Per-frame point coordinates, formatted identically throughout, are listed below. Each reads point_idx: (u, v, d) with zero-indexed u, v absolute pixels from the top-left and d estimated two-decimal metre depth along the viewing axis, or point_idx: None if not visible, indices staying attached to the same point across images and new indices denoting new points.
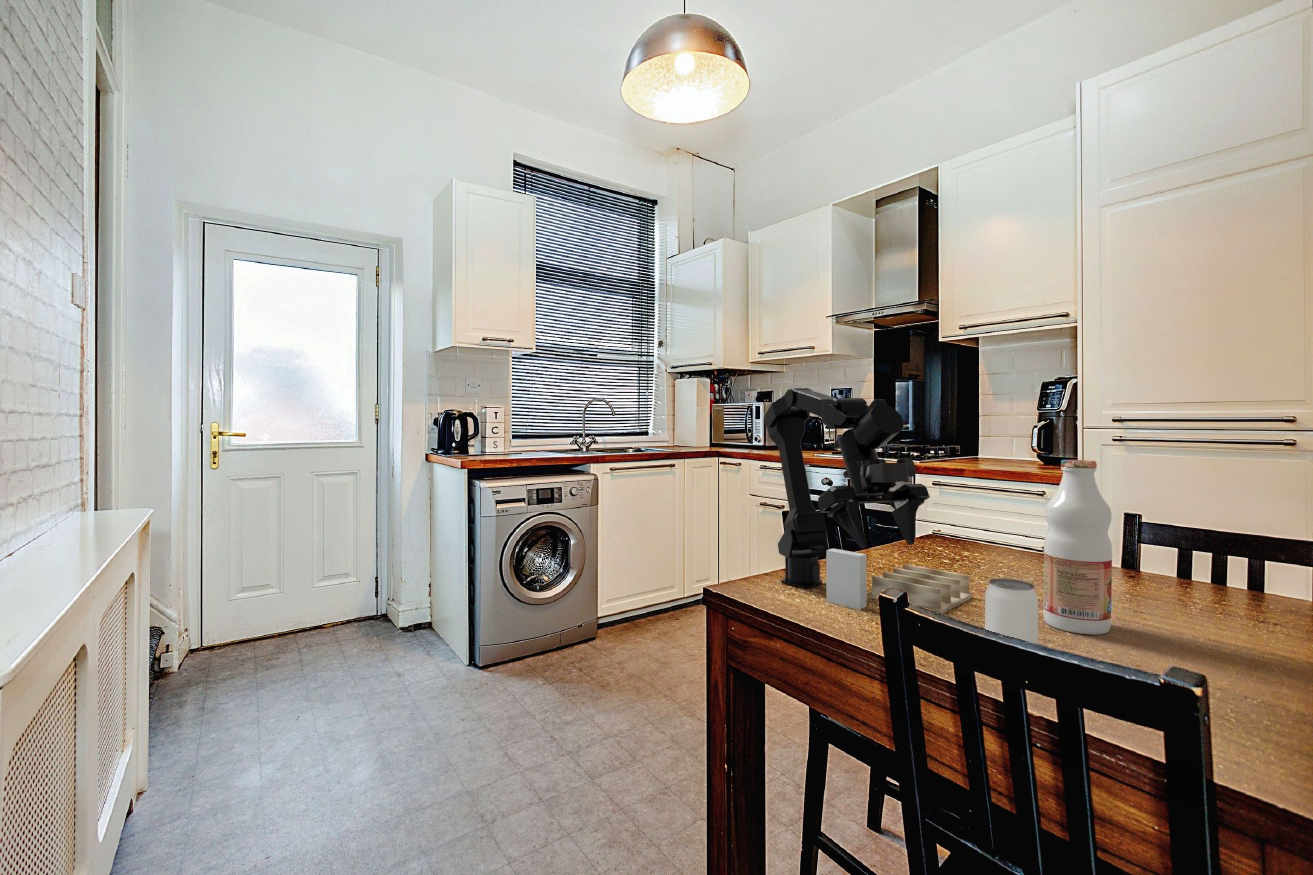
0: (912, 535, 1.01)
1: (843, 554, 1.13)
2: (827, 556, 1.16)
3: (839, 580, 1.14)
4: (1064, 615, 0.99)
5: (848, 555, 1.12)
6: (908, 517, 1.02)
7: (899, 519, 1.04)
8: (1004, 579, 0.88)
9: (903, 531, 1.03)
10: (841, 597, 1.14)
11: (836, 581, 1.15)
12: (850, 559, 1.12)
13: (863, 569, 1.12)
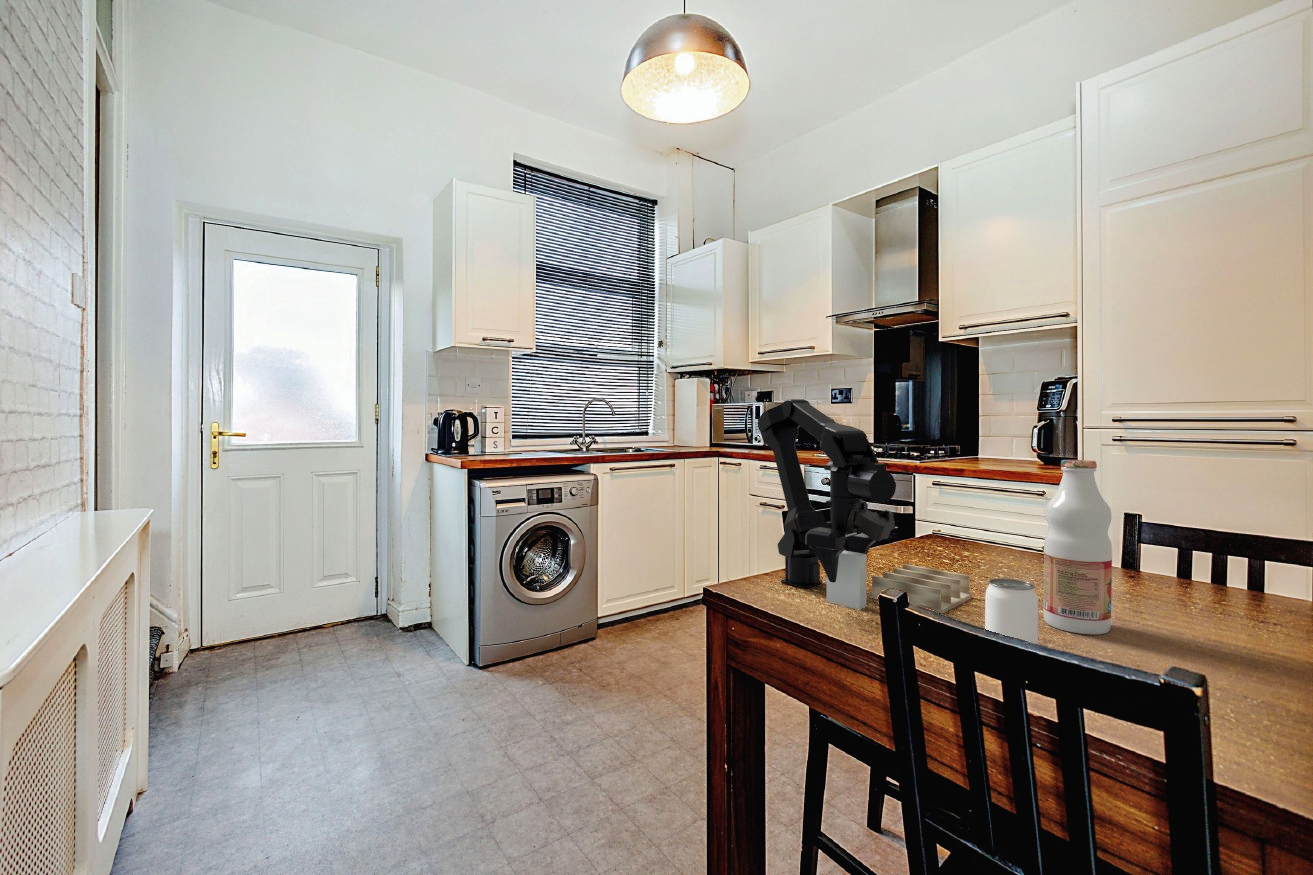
0: None
1: (843, 554, 1.13)
2: None
3: (839, 580, 1.14)
4: (1064, 615, 0.99)
5: (848, 555, 1.12)
6: (864, 551, 1.17)
7: (852, 546, 1.18)
8: (1004, 579, 0.88)
9: None
10: (841, 597, 1.14)
11: (836, 581, 1.15)
12: (850, 559, 1.12)
13: (863, 569, 1.12)
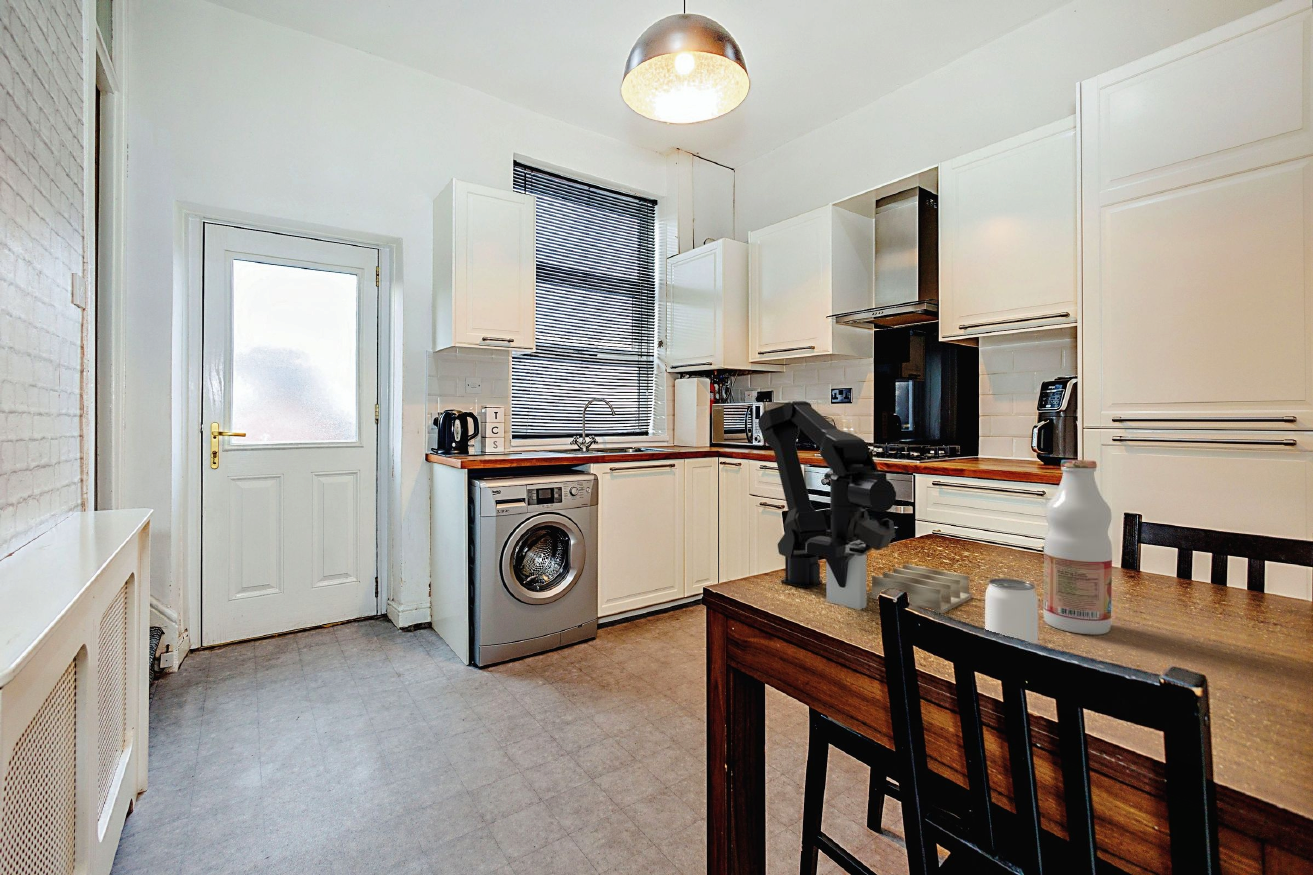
0: None
1: None
2: None
3: None
4: (1064, 615, 0.99)
5: None
6: None
7: None
8: (1004, 579, 0.88)
9: None
10: (841, 597, 1.14)
11: (836, 581, 1.15)
12: (850, 559, 1.12)
13: (863, 569, 1.12)
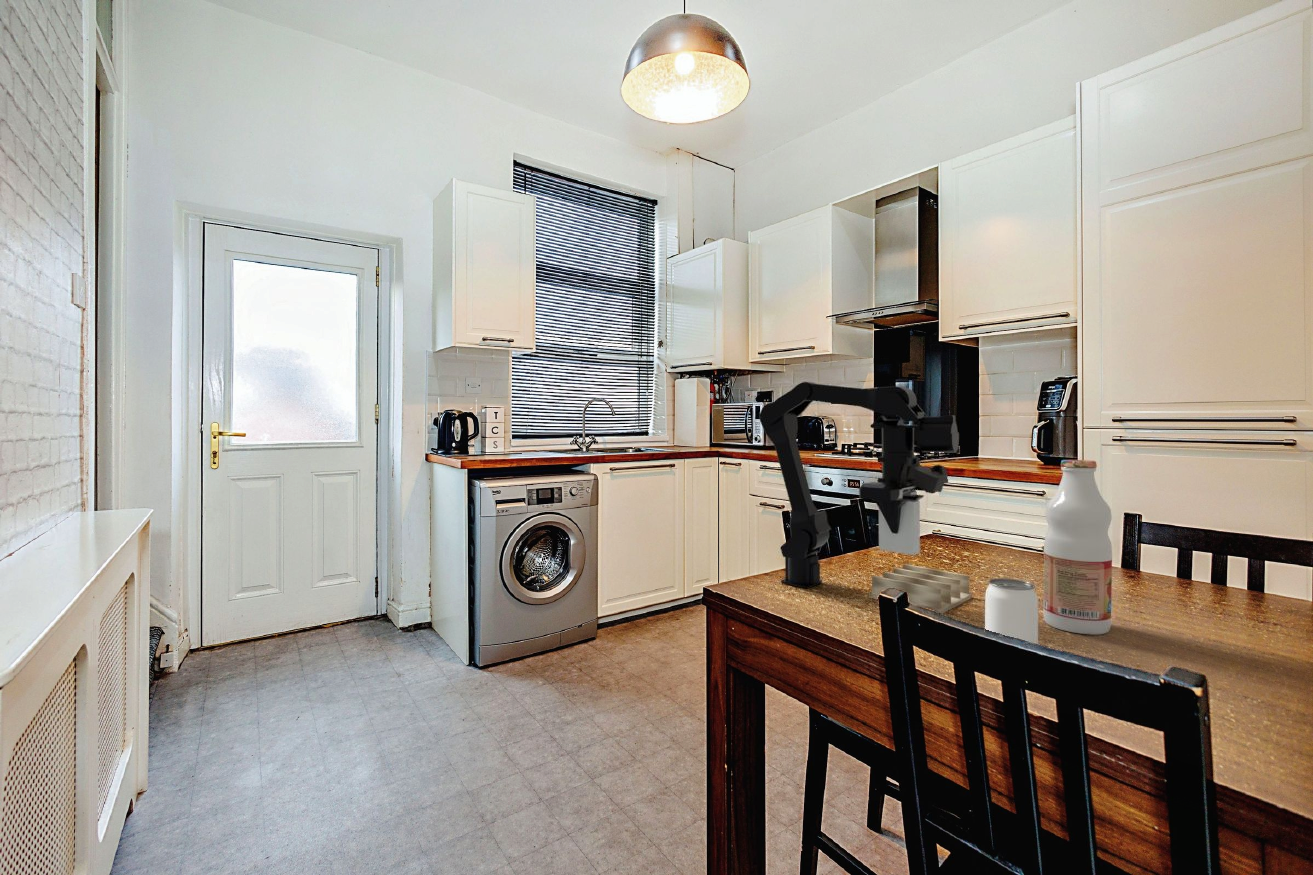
0: None
1: None
2: None
3: None
4: (1064, 615, 0.99)
5: None
6: None
7: None
8: (1004, 579, 0.88)
9: None
10: (894, 544, 1.16)
11: (889, 528, 1.16)
12: (903, 506, 1.14)
13: (916, 515, 1.13)
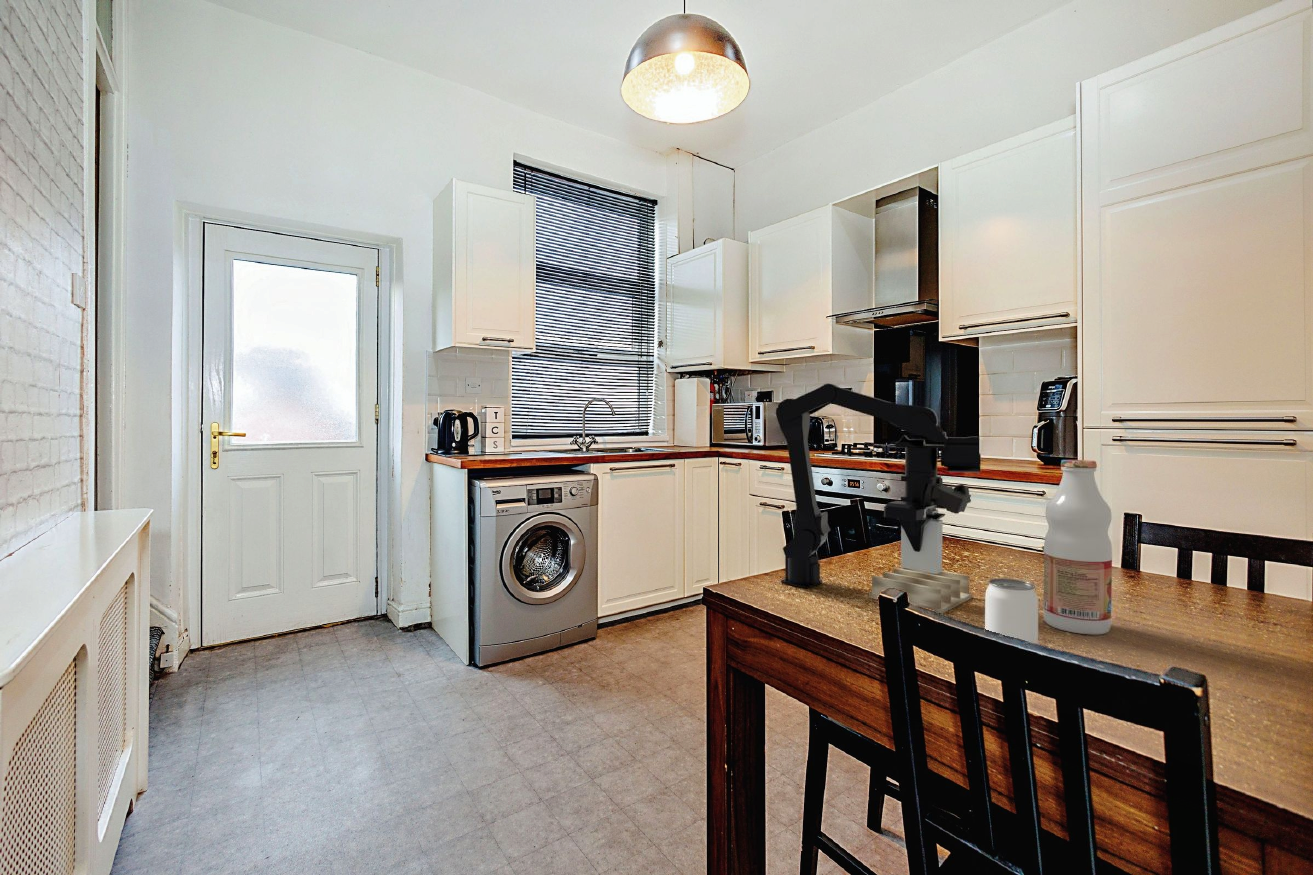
0: None
1: None
2: None
3: None
4: (1064, 615, 0.99)
5: None
6: None
7: None
8: (1004, 579, 0.88)
9: None
10: (916, 562, 1.17)
11: None
12: (927, 525, 1.15)
13: (939, 534, 1.15)
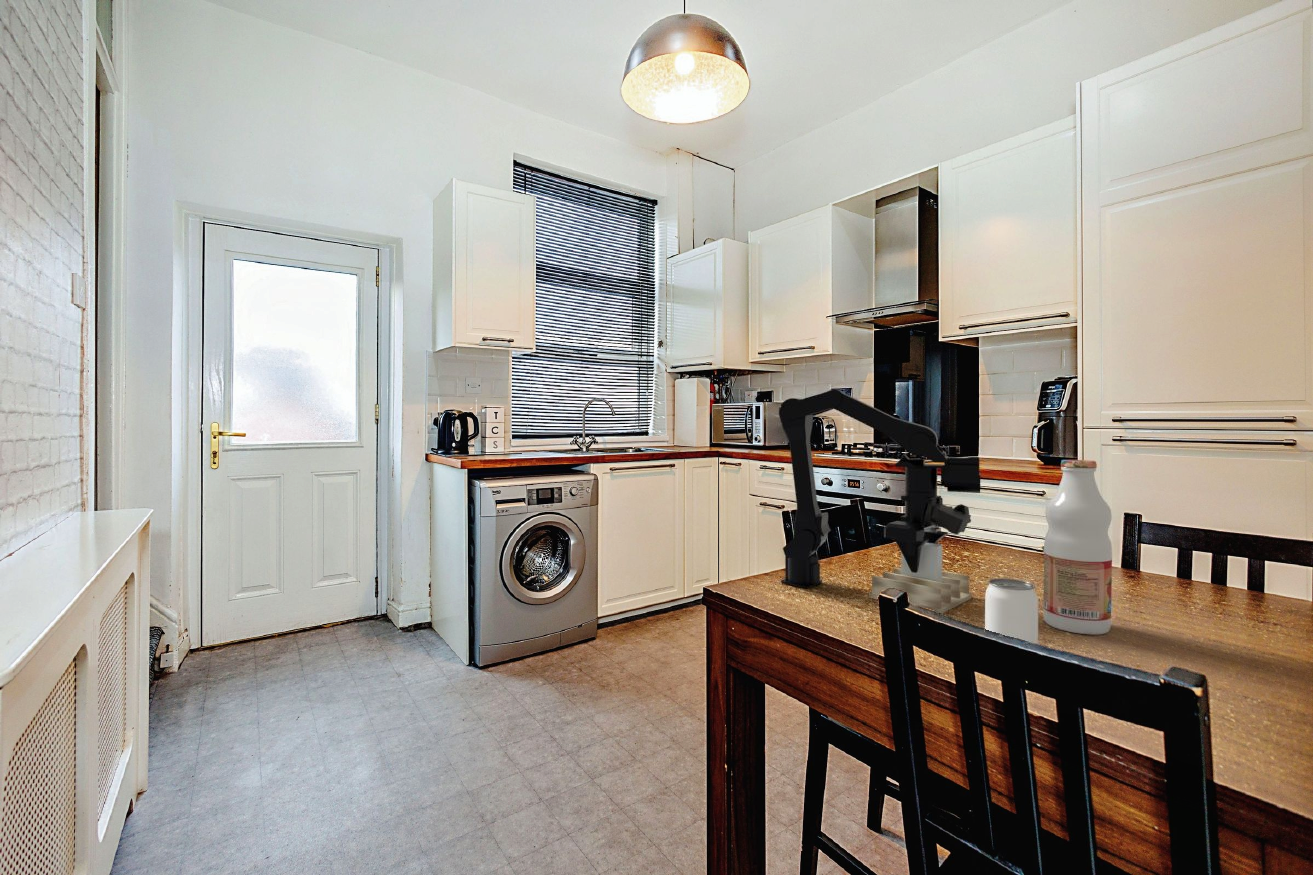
0: None
1: None
2: None
3: None
4: (1064, 615, 0.99)
5: (924, 546, 1.16)
6: None
7: None
8: (1004, 579, 0.88)
9: None
10: None
11: None
12: (927, 550, 1.16)
13: (939, 559, 1.15)
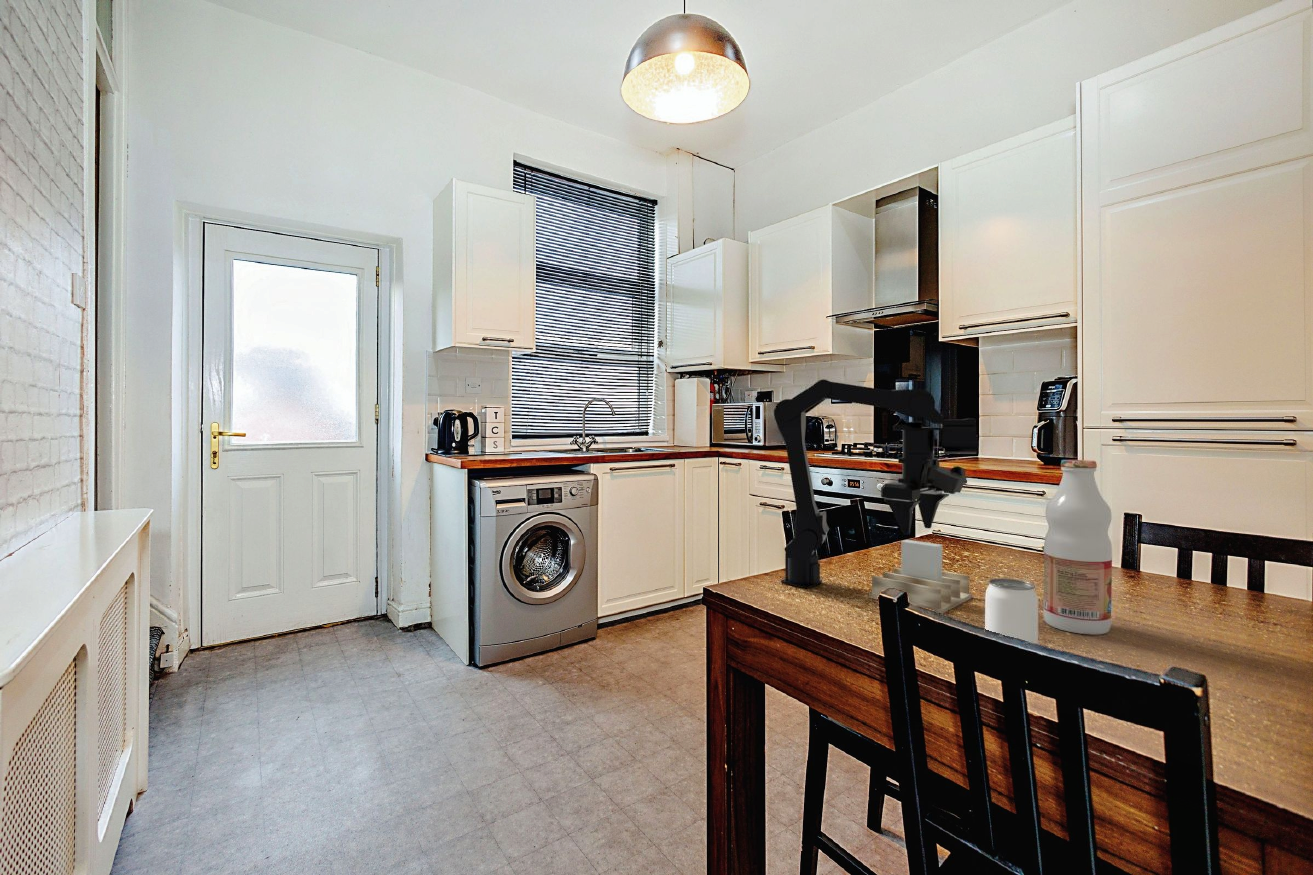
0: (931, 522, 1.22)
1: (919, 545, 1.17)
2: (902, 547, 1.19)
3: (915, 570, 1.17)
4: (1064, 615, 0.99)
5: (924, 546, 1.16)
6: (934, 507, 1.22)
7: (922, 503, 1.24)
8: (1004, 579, 0.88)
9: (923, 515, 1.23)
10: None
11: (912, 571, 1.18)
12: (927, 550, 1.16)
13: (939, 559, 1.15)
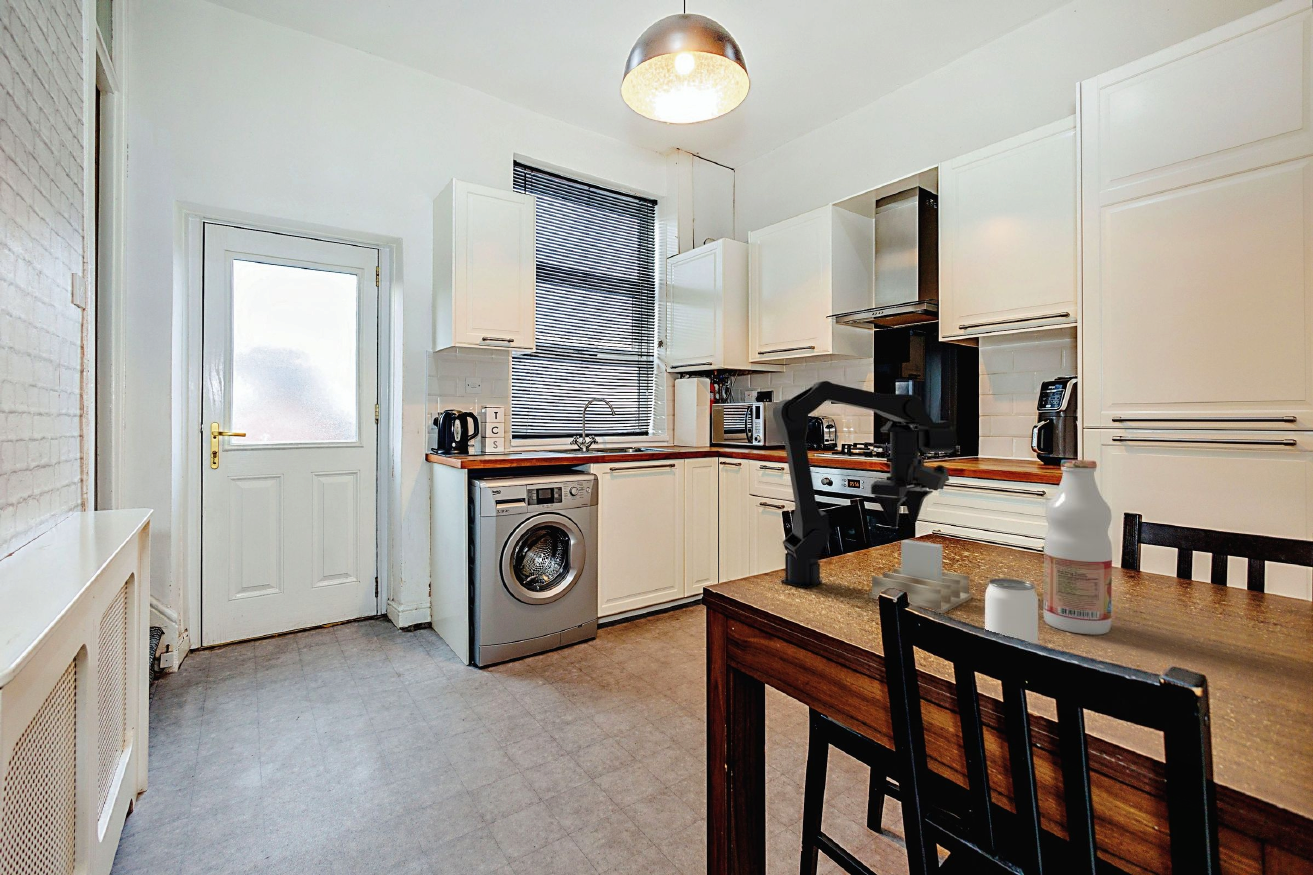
0: (917, 516, 1.33)
1: (919, 545, 1.17)
2: (902, 547, 1.19)
3: (915, 570, 1.17)
4: (1064, 615, 0.99)
5: (924, 546, 1.16)
6: (919, 502, 1.33)
7: (908, 499, 1.34)
8: (1004, 579, 0.88)
9: (910, 510, 1.34)
10: None
11: (912, 571, 1.18)
12: (927, 550, 1.16)
13: (939, 559, 1.15)
